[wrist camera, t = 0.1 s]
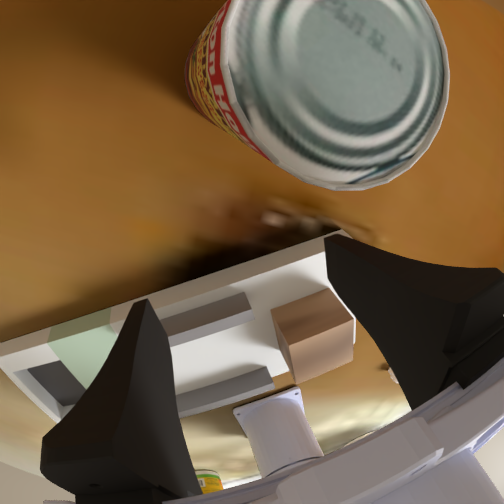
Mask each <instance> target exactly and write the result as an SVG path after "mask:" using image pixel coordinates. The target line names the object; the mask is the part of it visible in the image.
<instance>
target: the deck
mask: <svg viewBox="0 0 504 504" xmlns="http://www.w3.org/2000/svg"><path fill="white" fill-rule="evenodd" d="M334 234H341V235H344V236H347V237H349V238H352V237H350V236H349V235H348V234H347V233H346V232H345V231H343V230H342V229H341V230H338V231H335V232H332V233H330V234H327V235H324V236H321V237H318V238H315V239H312V240H309V241H306V242H303V243H300V244H297V245H294V246H292V247H289V248H286V249H283V250H280V251H277V252H274V253H271V254H268V255H265V256H262V257H259V258H256V259H253V260H250V261H247V262H244V263H241V264H239V265H236V266H233V267H230V268H227V269H224V270H221V271H218V272H215V273H212V274H209V275H206V276H203V277H200V278H197V279H194V280H191V281H188V282H185V283H182V284H179V285H176V286H173V287H170V288H167V289H164V290H161V291H158V292H155V293H152V294H149V295H146V296H143V297H140V298H137V299H134V300H131V301H128V302H125V303H122V304H119V305H116V306H113V307H110V308H107V309H104V310H100V311H97V312H94V313H91V314H88V315H85V316H82V317H79V318H76V319H73V320H70V321H67V322H64V323H61V324H58V325H55V326H51V327H48V328H45V329H42V330H39V331H36V332H33V333H30V334H27V335H24V336H21V337H17V338H14V339H11V340H8V341H5V342H2V343H0V368H1V369H2V370H3V371H4V373H5V374H6V375H7V376H8V377H9V378H10V379H11V380H12V381H13V382H14V383H15V384H16V385H17V386H18V387H19V388H20V389H21V390H22V391H23V392H24V393H25V394H26V395H27V396H28V397H29V398H30V399H31V400H32V401H33V402H34V403H35V404H36V405H37V406H38V407H39V408H40V409H41V410H43V411H44V412H45V413H46V414H47V415H48V416H49V417H50V418H52V419H53V420H54V421H55V422H56V423H57V424H58V423H59V422H60V421H61V420H62V419H63V417H64V416H65V415H66V414H67V413H68V412H69V411H70V410H71V409H72V408H73V406H74V405H75V404H76V403H77V402H78V400H79V399H80V398H81V396H82V395H83V394H84V392H85V391H86V390H87V388H88V387H89V386H90V384H91V383H92V382H93V380H94V379H95V377H96V375H97V374H98V372H99V371H100V369H101V367H102V366H103V364H104V362H105V361H106V359H107V357H108V355H109V353H110V351H111V349H112V347H113V345H114V343H115V341H116V339H117V337H118V335H119V333H120V331H121V329H122V326H123V324H124V322H125V320H126V318H127V315H128V313H129V311H130V309H131V307H132V305H133V303H134V302H137V301H140V300H143V299H146V298H148V300H149V301H150V303H151V305H152V307H153V309H154V311H155V313H156V315H157V317H158V318H159V320H160V322H161V324H162V326H163V328H164V329H165V331H166V333H167V335H168V340H169V345H170V349H171V354H172V362H173V373H174V383H175V393H176V403H177V409H178V415H179V418H184V417H187V416H191V415H195V414H198V413H202V412H205V411H209V410H212V409H215V408H219V407H222V406H225V405H228V404H231V403H235V402H238V401H241V400H244V399H247V398H250V397H253V396H256V395H258V394H261V393H264V392H267V391H270V390H272V389H275V386H274V383H273V380H272V378H271V377H274V376H277V375H280V374H282V373H285V372H287V371H290V370H289V368H288V366H287V364H286V362H285V360H284V358H283V356H282V354H281V352H280V349H279V345H278V341H277V337H276V332H275V328H274V324H273V320H272V316H271V311H270V310H271V309H273V308H276V307H279V306H282V305H284V304H287V303H290V302H292V301H295V300H298V299H300V298H303V297H306V296H308V295H311V294H314V293H316V292H319V291H321V290H324V289H326V288H330V289H331V291H332V292H333V293H334V294H335V296H336V297H337V298H338V299H339V301H340V302H341V303H342V304H343V306H344V307H345V308H346V309H347V311H348V312H349V313H350V314H351V316H352V317H353V318H354V341H353V344H354V343H355V326H356V317H355V316H354V315H353V314H352V312H351V311H350V310H349V309H348V308H347V306H346V305H345V304H344V303H343V301H342V300H341V299H340V298H339V296H338V295H337V293H336V292H335V290H334V289H333V287H332V285H331V283H330V282H329V280H328V279H327V268H326V257H325V247H324V238H325V237H328V236H331V235H334ZM352 239H353V238H352Z"/></svg>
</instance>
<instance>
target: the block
mask: <svg viewBox="0 0 504 504" xmlns="http://www.w3.org/2000/svg"><path fill="white" fill-rule="evenodd" d="M270 311H271V316H272V320H273V324H274V328H275V332H276V337H277V341H278V345H279V349H280V352H281V354H282V356H283V358H284V360H285V362H286V364H287V366H288V368H289V370H290V372H291V374H292V376H293V379H294V381H295V383H296V384H299V383H302V382H304V381H306V380H309V379H311V378H314V377H316V376H319V375H321V374H323V373H326V372H328V371H330V370H333V369H335V368H337V367H339V366H342V365H344V364H346V363H348V362H350V361H352V360H353V341H354V318H353V317H352V316H351V314H350V313H349V312H348V311H347V309H346V308H345V307H344V306H343V304H342V303H341V302H340V301H339V299H338V298H337V297H336V296H335V294H334V293H333V292H332V291H331V289H330V288H326V289H324V290H321V291H319V292H316V293H314V294H311V295H308V296H306V297H303V298H300V299H298V300H295V301H292V302H290V303H287V304H284V305H282V306H279V307H276V308H273V309H271V310H270Z"/></svg>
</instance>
